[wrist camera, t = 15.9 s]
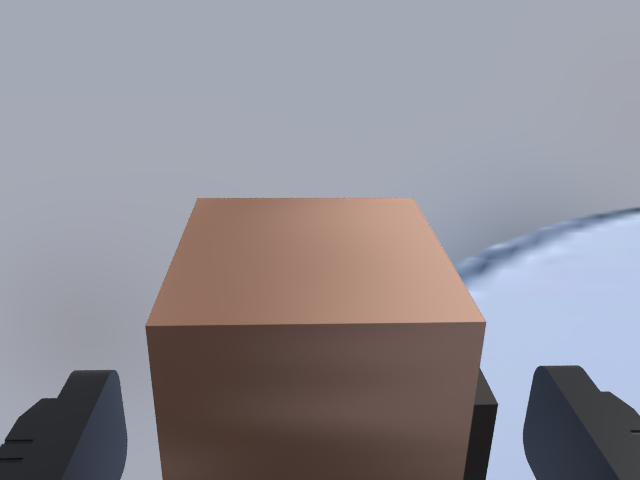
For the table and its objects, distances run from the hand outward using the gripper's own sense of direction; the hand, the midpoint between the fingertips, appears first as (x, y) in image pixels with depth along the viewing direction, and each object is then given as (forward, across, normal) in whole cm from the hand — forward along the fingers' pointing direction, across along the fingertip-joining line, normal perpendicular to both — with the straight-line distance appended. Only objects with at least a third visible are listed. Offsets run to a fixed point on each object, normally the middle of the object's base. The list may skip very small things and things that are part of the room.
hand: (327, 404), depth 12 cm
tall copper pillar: (-2, 0, +8) cm, 8 cm away
